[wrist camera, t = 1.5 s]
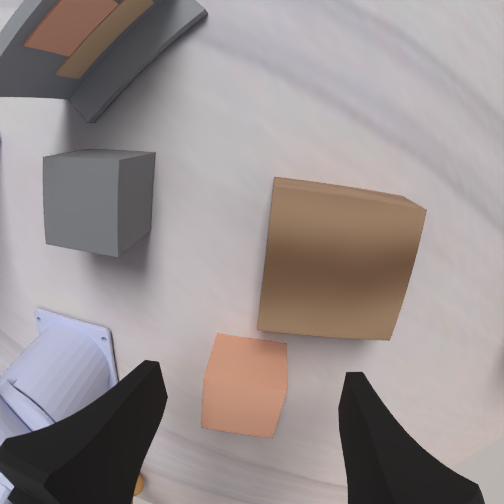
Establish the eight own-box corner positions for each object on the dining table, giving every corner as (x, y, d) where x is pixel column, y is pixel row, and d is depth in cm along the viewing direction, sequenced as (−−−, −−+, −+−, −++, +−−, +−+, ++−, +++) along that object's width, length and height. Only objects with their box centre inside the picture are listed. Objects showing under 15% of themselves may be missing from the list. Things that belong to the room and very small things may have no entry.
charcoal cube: (151, 229, 20) (117, 257, 16) (88, 220, 21) (45, 243, 16) (156, 152, 19) (119, 159, 14) (89, 149, 19) (42, 156, 14)
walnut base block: (374, 307, 21) (389, 340, 18) (260, 296, 22) (256, 329, 18) (400, 195, 19) (426, 209, 15) (274, 176, 19) (273, 186, 15)
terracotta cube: (274, 390, 24) (272, 437, 20) (213, 381, 25) (201, 427, 20) (286, 342, 23) (287, 390, 18) (217, 332, 23) (203, 378, 18)
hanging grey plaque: (208, 13, 15) (158, -59, 7) (93, 122, 18) (-6, 128, 10) (153, -33, 14) (90, -98, 5) (51, 70, 17) (-42, 59, 8)
